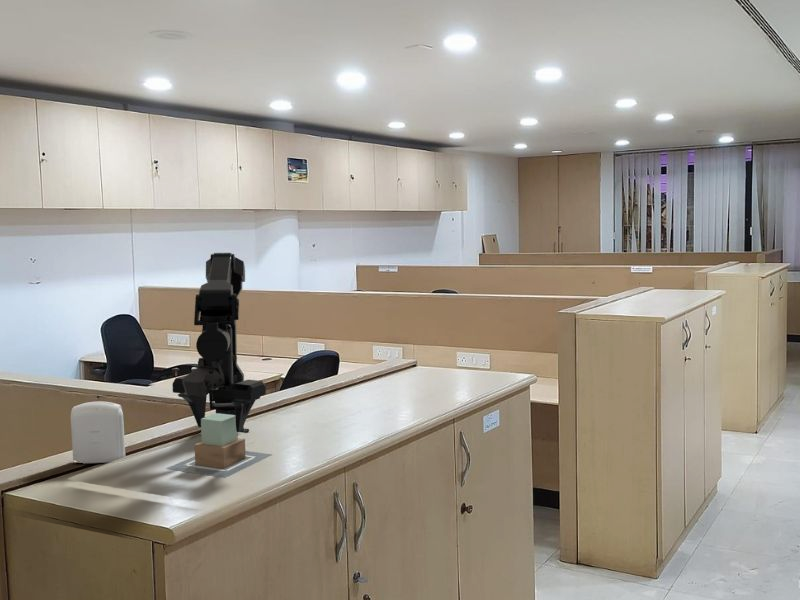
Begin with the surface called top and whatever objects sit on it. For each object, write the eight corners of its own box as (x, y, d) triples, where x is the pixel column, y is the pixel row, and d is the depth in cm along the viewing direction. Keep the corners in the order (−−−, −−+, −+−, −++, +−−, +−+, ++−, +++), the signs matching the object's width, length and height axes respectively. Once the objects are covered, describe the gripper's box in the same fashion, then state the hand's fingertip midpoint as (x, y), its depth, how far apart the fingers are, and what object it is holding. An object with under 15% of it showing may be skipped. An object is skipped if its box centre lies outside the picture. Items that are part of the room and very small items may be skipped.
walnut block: (217, 454, 159) (216, 435, 159) (245, 458, 156) (245, 439, 156) (195, 464, 153) (194, 444, 152) (224, 468, 150) (223, 448, 150)
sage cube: (217, 437, 158) (216, 413, 157) (237, 439, 156) (237, 415, 155) (201, 443, 153) (200, 418, 152) (222, 446, 151) (221, 421, 150)
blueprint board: (216, 451, 165) (216, 446, 165) (272, 459, 159) (272, 453, 159) (165, 473, 150) (165, 468, 150) (225, 482, 145) (225, 477, 145)
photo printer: (69, 465, 156) (66, 405, 155) (76, 459, 160) (73, 400, 159) (122, 463, 157) (120, 403, 156) (127, 457, 161) (125, 399, 160)
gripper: (151, 355, 149) (154, 434, 150) (232, 361, 141) (234, 445, 143) (189, 346, 159) (191, 421, 161) (266, 352, 152) (268, 430, 153)
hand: (219, 429), depth 154 cm, fingers open, 9 cm apart
